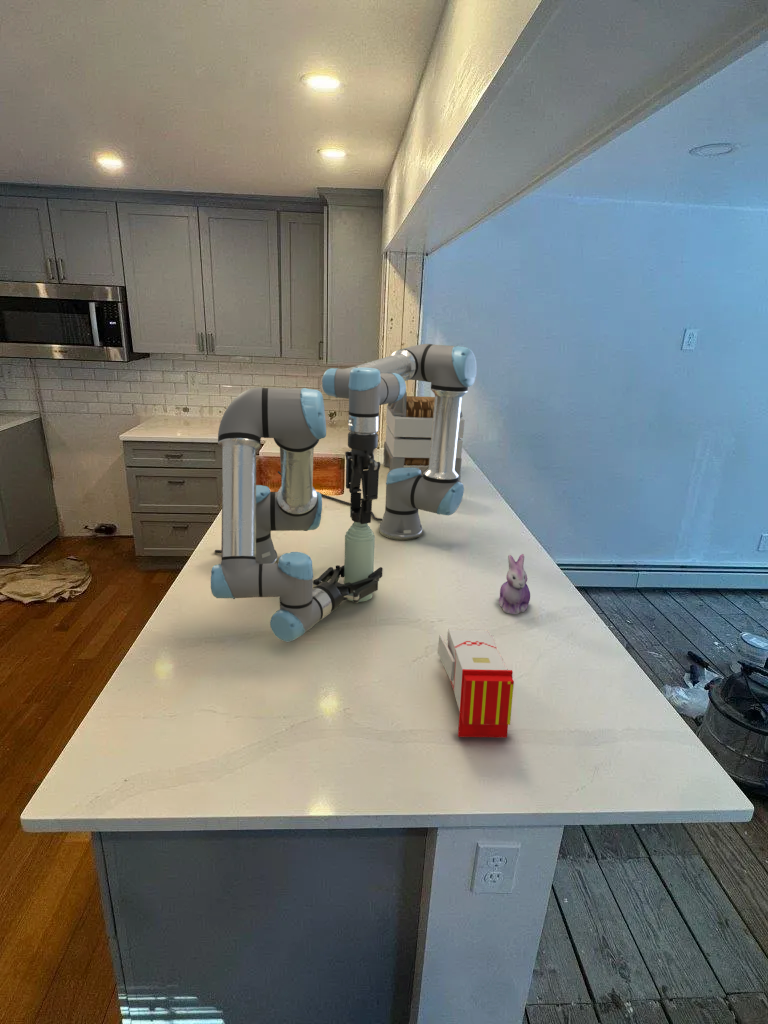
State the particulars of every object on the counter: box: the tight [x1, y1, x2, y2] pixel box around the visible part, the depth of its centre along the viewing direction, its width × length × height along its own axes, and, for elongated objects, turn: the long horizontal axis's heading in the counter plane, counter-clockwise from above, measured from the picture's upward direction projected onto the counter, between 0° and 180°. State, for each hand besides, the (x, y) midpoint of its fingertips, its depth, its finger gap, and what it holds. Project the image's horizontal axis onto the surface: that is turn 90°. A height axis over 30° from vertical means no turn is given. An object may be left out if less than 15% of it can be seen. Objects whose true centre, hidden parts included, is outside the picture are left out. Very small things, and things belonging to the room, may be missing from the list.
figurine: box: [498, 553, 531, 615], centre depth 151 cm, size 9×10×15 cm
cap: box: [350, 508, 361, 523], centre depth 148 cm, size 5×5×2 cm
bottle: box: [343, 521, 376, 603], centre depth 152 cm, size 8×8×24 cm
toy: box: [437, 628, 515, 738], centre depth 117 cm, size 12×13×30 cm
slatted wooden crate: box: [383, 391, 465, 482], centre depth 268 cm, size 34×33×41 cm
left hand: (367, 568), depth 158 cm, fingers closed on bottle, 8 cm apart
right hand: (360, 519), depth 149 cm, fingers closed on cap, 4 cm apart
